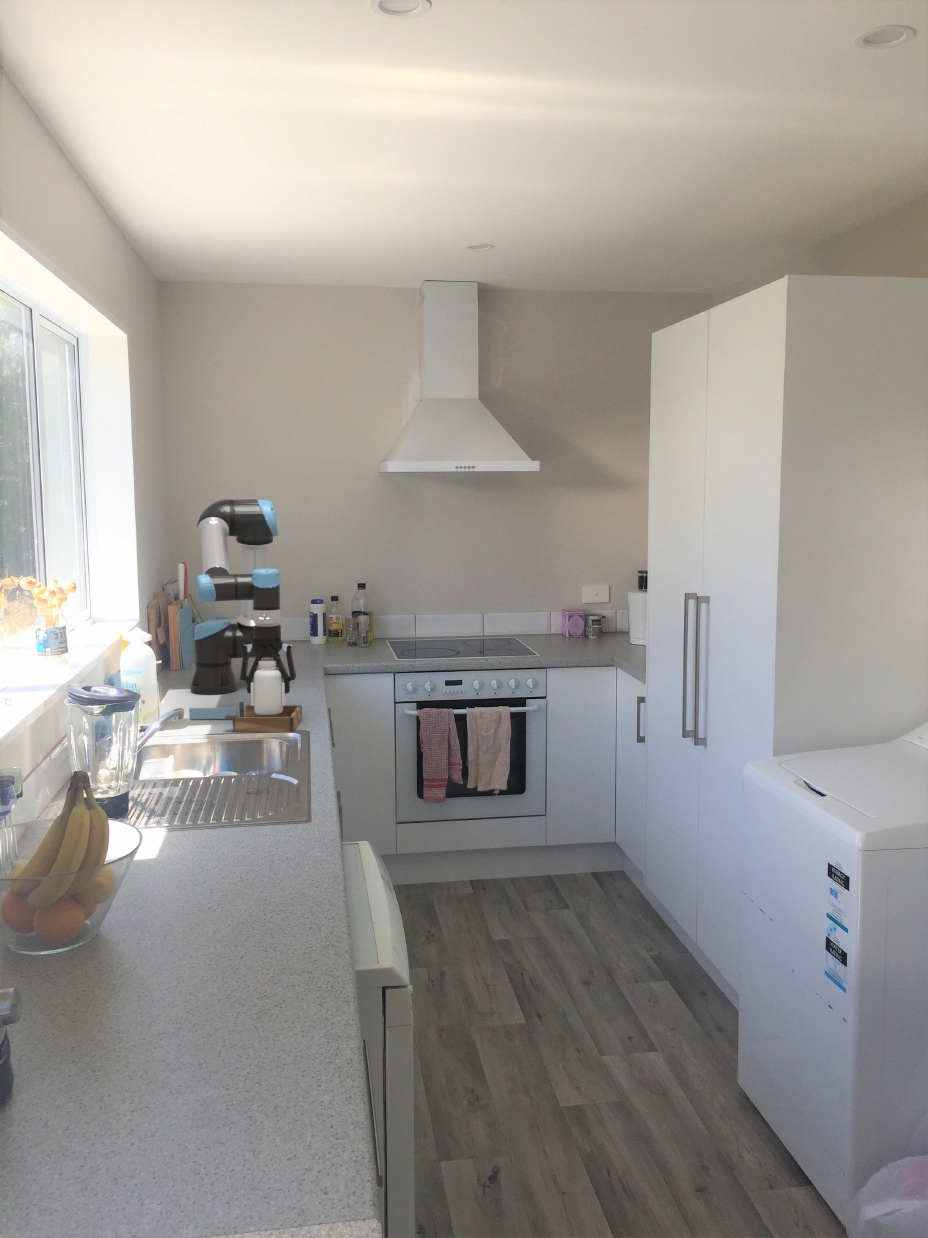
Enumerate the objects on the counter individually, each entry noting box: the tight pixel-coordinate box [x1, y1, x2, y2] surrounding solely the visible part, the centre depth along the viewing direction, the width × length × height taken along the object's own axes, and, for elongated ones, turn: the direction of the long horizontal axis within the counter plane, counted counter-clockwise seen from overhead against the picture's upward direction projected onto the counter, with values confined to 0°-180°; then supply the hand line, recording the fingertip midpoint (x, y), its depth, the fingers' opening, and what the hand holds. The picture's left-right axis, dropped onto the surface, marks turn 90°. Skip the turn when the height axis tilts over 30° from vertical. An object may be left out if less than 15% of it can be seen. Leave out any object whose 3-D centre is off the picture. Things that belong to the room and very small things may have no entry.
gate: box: [188, 707, 238, 720], centre depth 276 cm, size 14×1×3 cm, turn 91°
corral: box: [224, 701, 303, 733], centre depth 269 cm, size 16×19×5 cm
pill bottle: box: [253, 658, 284, 715], centre depth 268 cm, size 8×8×15 cm
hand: (268, 704), depth 269 cm, fingers closed on pill bottle, 8 cm apart
